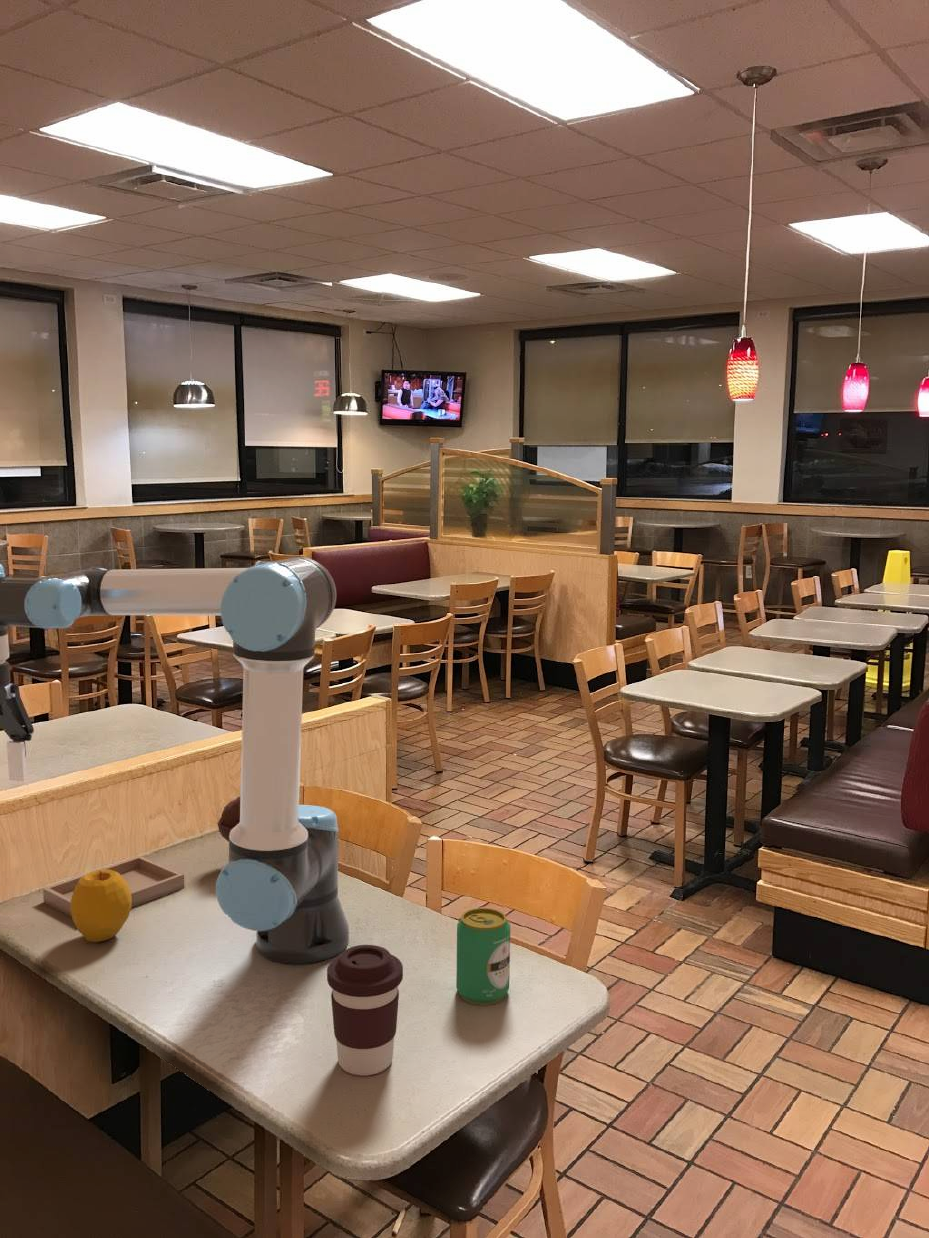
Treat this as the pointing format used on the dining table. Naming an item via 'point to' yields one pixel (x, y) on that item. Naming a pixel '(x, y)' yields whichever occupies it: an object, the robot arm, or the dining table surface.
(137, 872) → the tray
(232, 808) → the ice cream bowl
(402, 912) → the dining table surface
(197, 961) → the dining table surface
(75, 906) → the apple
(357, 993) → the coffee cup
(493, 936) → the beverage can
